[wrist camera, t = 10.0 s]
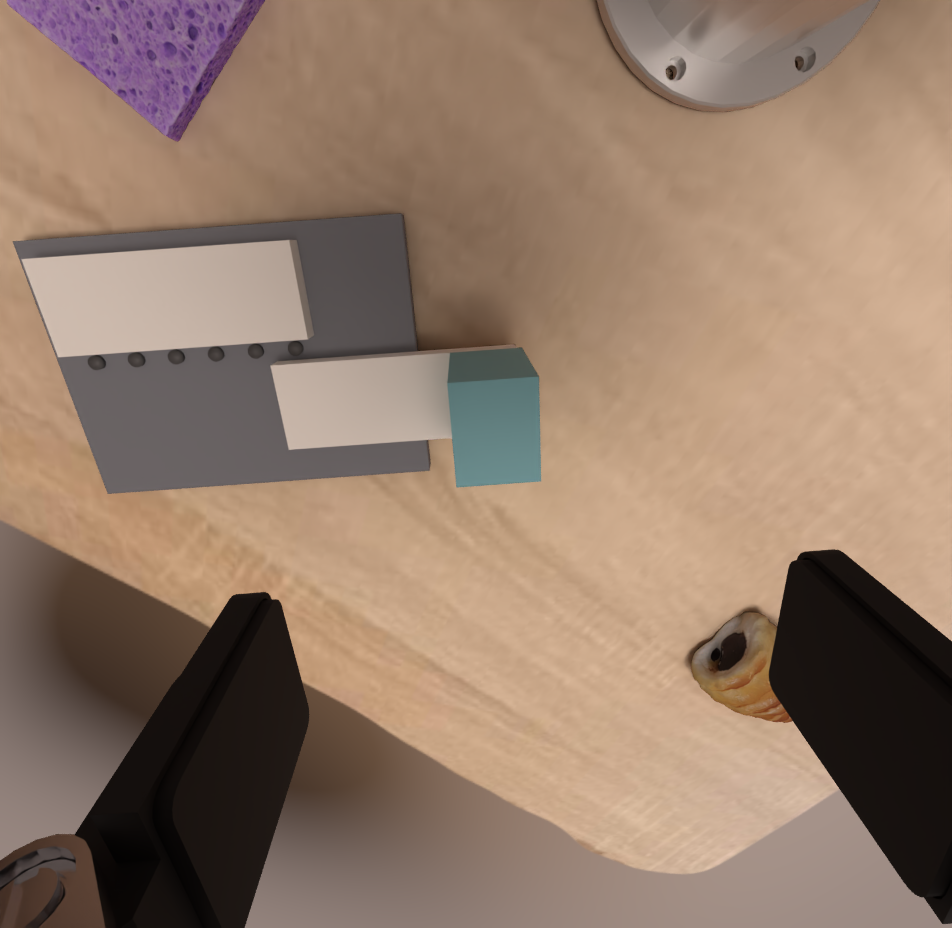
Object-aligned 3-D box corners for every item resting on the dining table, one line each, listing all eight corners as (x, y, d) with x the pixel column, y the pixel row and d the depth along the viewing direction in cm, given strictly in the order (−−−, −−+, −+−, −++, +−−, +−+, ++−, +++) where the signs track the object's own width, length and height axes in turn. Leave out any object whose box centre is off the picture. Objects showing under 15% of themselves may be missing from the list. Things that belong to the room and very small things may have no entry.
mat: (403, 214, 25) (401, 213, 24) (430, 463, 30) (429, 470, 29) (29, 241, 25) (12, 241, 24) (118, 486, 30) (107, 493, 29)
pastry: (832, 663, 37) (870, 707, 34) (758, 718, 39) (787, 765, 36) (746, 597, 35) (778, 637, 31) (672, 659, 37) (694, 704, 33)
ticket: (296, 240, 25) (289, 239, 24) (317, 353, 27) (311, 358, 26) (40, 258, 25) (21, 258, 24) (81, 370, 27) (65, 375, 26)
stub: (519, 343, 26) (539, 376, 20) (522, 426, 28) (541, 481, 22) (276, 361, 26) (218, 399, 20) (294, 442, 28) (245, 502, 22)
